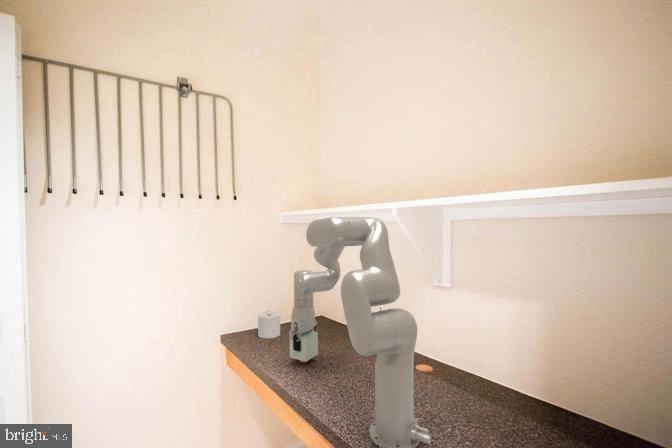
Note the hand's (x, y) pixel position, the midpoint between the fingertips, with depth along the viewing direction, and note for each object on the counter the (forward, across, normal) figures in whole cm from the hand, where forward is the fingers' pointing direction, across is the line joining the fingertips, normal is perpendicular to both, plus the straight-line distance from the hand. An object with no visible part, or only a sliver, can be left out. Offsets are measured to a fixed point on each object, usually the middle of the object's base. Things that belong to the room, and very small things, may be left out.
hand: (303, 347), depth 127 cm
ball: (+3, 0, 0) cm, 3 cm away
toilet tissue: (+6, -17, -35) cm, 39 cm away
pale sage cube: (+3, 0, 0) cm, 3 cm away
